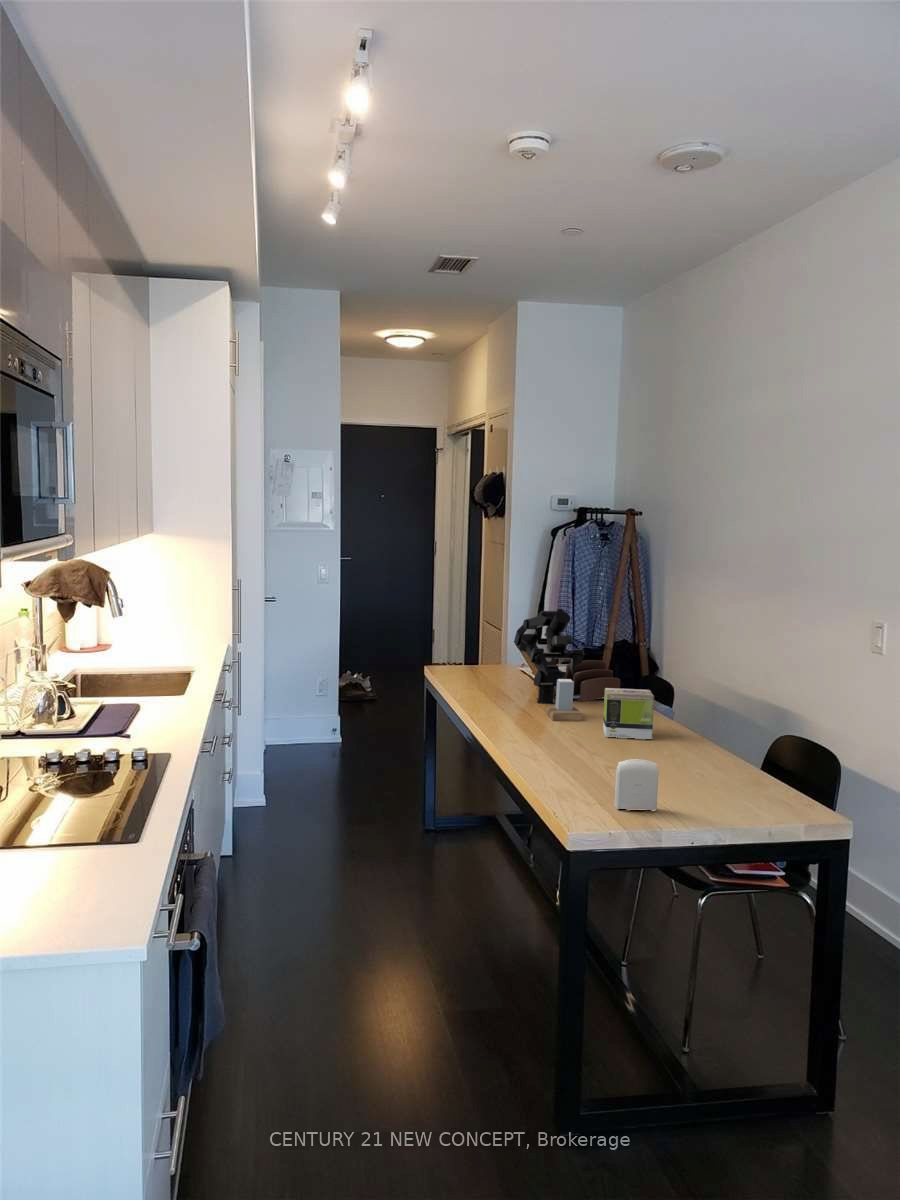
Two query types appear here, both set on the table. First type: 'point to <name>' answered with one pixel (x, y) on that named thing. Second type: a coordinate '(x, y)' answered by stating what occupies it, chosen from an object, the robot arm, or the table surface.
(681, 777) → the table surface
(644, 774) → the photo printer
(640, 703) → the tea box
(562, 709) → the tin
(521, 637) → the robot arm
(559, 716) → the block
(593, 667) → the letter holder
